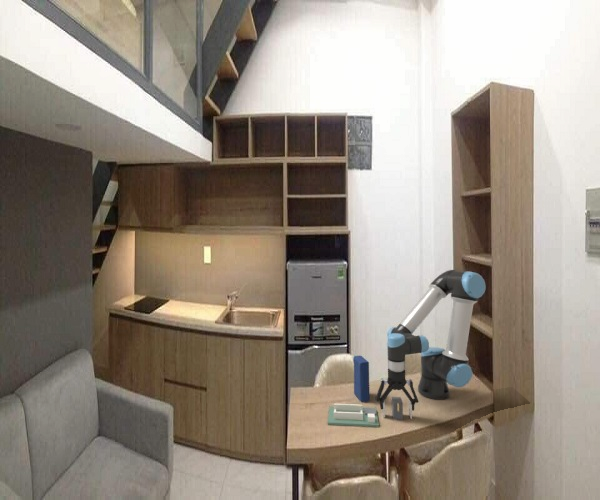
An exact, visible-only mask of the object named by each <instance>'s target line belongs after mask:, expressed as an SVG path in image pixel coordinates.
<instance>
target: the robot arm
mask: <svg viewBox="0 0 600 500" xmlns="http://www.w3.org/2000/svg"><path fill="white" fill-rule="evenodd" d="M428 288H429V289H427V290H426V292H425V293H424V294H423V295H422V297H421V298H419V300H418V301H417V303H416V304H415V305H414V306H413V307H412V309H411V310H410V311H408V313H407V314H406V316H405V317H404V318H402V320H401V322H400V323H399V324H397V327H396V326H395V327H394V326H393V327H390V328H389V329H388V330H387V340H386V347H387V348H386V349H387V379H384V378H381V379H380V385H379V388H378V390H377V394H376V396H375V400H376V401H377V402H379V407H380V410H382V416H383V418H386V402H385V400H386V399H387V397H389V394H390V393H391V392H392V391H401V390H402V391H403V393H404V394H405V396H406V397H407V399H408V416H409V419H411V420H413V411H415V404H418V403H419V399H418V396H417V393H419V394H420V396H423V397H424V398H427V399H432V400H445V399H447V398H448V397H450V388H449V385H450V386H453V387H456V388H463V387H465V386H466V385H467V384H469V383H470V382H471V380H472V378H473V370H472V367H471V366H470V364H469V358H468V355H467V348H468V342H469V336H470V335H469V333H470V328H471V321H472V315H473V310H474V309H473V308H474V305H475V304H477V303H478V301H479V298H481V297H482V296H483V295H484V294H485V291H486V288H487V287H486V282H485V279H484V278H483V276H482V275H480V274H479V273H477V272H474V271H473V272H472V271H468V270H467V271H466V270H457V269H448V270H445V271H444V272H443V273H442V272H441V274H439V275H438V276H437V277H436V278H434V280H433V281H432V282H431V283H430V284H429V286H428ZM448 295H450V298H451V300H452V301H453V303H452V310H451V316H450V322H449V328H448V329H449V330H448V334H447V341H446V342H447V343H446V348H443V347H438V346H437V347H436V346H435V347H434V346H431V347H430V342H429V339H428V338H427V337H426V336H425V335H422V334H421V335H414V334H413V333H415V331H416V330H417V329H418V327H419V326H420V325H421V324H422V323H423V322H424V321H425V319H426V318H427V317H428V316H429V314H430V313H431V312H432V311H433V310H434V309H435V307H436V306H437V305H438V304H439V303H440V301H441V300H442V299H445V298H447V297H448ZM413 354H420V369H421V371H420V372H421V373H420V375H421V377H420V379H419V382H418V384H417V385H418V386H417V393H416V391H415V388H414V382H413V380H412V379H411V378H410V379H406V356H408V355H413ZM387 384H388V386H387V387H386V389H385V386H386V385H387ZM406 385H408V386H409V388H410V391H411V393H412V396H413V397H412V396H411V394H410V393H409V391H408V390H407V389H406V387H405V386H406ZM384 389H385V391H384V392H383V390H384ZM382 393H383V394H382Z"/></svg>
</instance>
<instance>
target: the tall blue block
mask: <svg viewBox="0 0 600 500" xmlns="http://www.w3.org/2000/svg"><path fill="white" fill-rule="evenodd" d="M352 361H353V379H354V380H353V393H354V395H355V397H357V398H358V400H359V401H360V402H362V403H366V402H367V403H368V402H369V401H370V398H371V397H370V362H369V361H368V360H367V359H365V358H364V356H362V355H354V356H353V358H352Z"/></svg>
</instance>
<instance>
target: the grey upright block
mask: <svg viewBox="0 0 600 500" xmlns="http://www.w3.org/2000/svg"><path fill="white" fill-rule="evenodd" d="M403 406H404V405H403V400H402V398H401V396H391V414H392V415H391V416H392V420H393V421H396V420H397V421H403V420H404V415H403V414H404V410H403Z"/></svg>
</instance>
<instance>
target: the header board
mask: <svg viewBox="0 0 600 500" xmlns="http://www.w3.org/2000/svg"><path fill="white" fill-rule="evenodd" d="M328 407H329V408H328V417H327V425H328V426H349V427H363V428H364V427H367V428H369V427H370V428H379V427H380V424H379V423H380V422H379V417H378V411H377V408H376V407H363V404H358V403H357V404H356V403H355V404H354V403H353V404H351V403H333V406H332V405H330V406H328Z"/></svg>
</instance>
